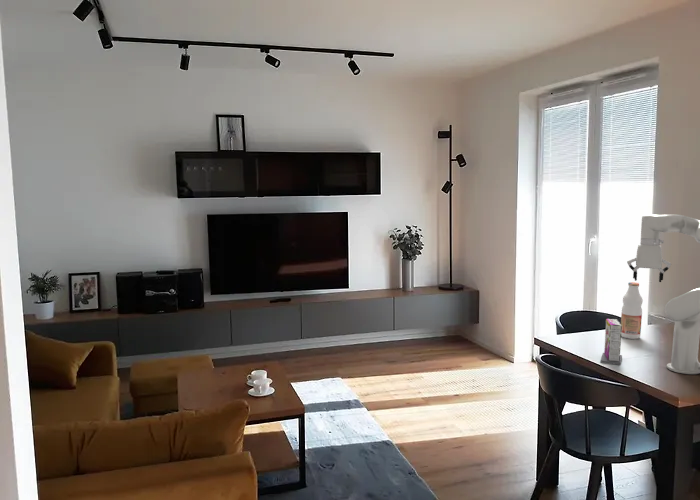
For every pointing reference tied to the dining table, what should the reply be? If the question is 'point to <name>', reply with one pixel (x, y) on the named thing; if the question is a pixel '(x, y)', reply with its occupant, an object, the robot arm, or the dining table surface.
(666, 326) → the dining table surface
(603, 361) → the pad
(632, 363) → the dining table surface
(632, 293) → the fruit juice
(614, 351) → the candy bar box
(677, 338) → the robot arm
